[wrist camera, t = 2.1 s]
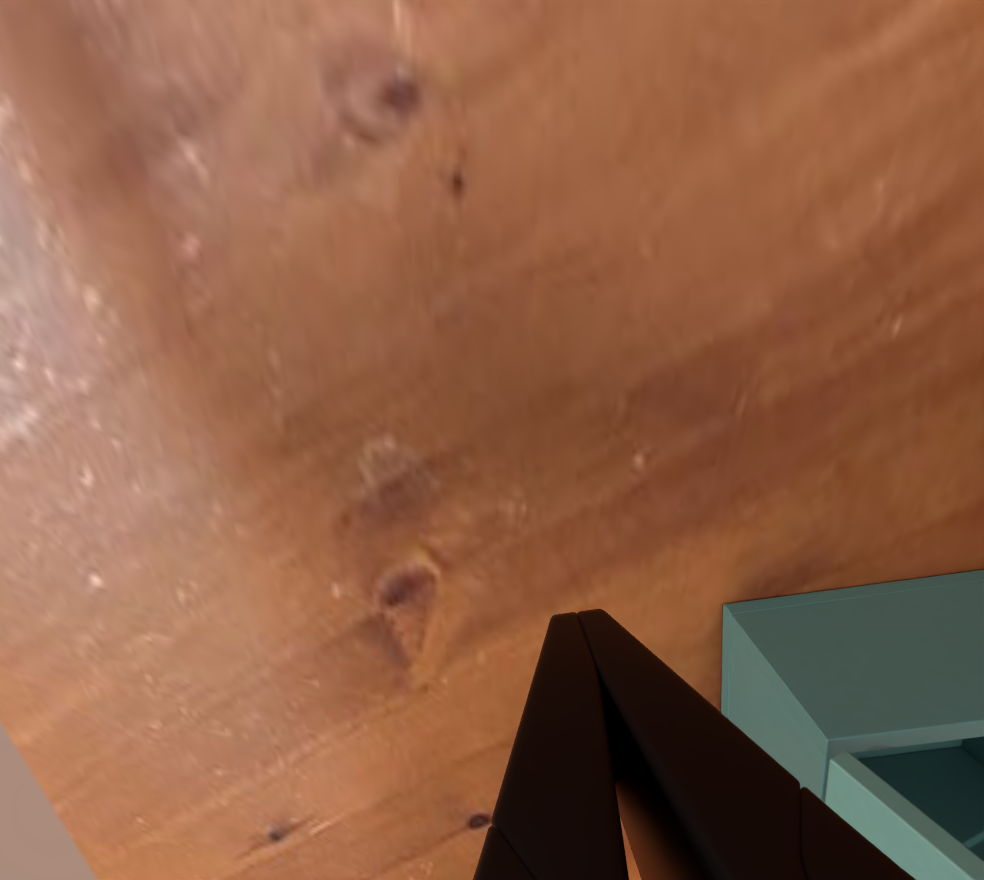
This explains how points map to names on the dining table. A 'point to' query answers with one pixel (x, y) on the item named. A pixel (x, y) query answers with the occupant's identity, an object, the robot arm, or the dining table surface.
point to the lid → (896, 824)
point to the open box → (869, 688)
